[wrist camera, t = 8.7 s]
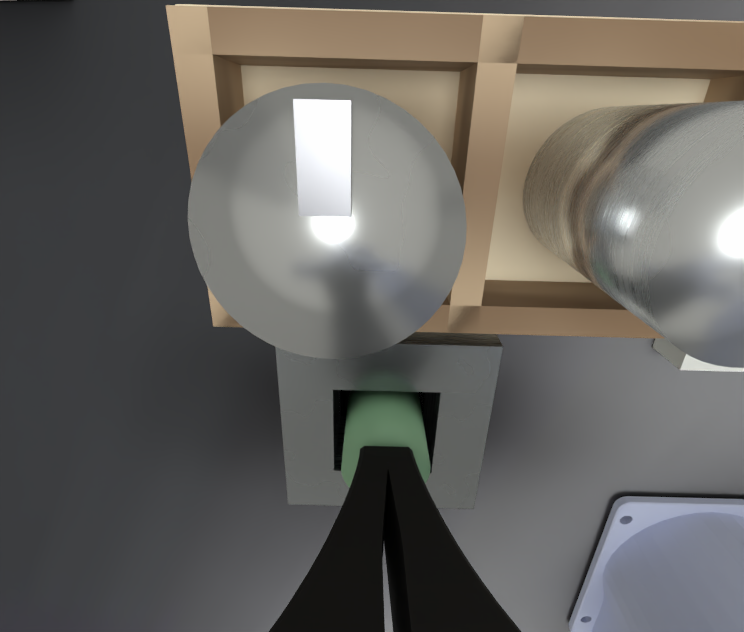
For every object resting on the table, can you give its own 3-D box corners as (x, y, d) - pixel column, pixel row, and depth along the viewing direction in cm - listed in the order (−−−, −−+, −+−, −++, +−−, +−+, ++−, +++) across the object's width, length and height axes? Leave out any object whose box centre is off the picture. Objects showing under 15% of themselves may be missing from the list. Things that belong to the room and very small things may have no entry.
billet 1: (418, 255, 12) (453, 371, 7) (281, 251, 12) (201, 365, 7) (429, 102, 11) (490, 84, 5) (271, 98, 11) (152, 75, 5)
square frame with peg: (459, 450, 17) (473, 508, 15) (300, 446, 17) (288, 504, 15) (480, 306, 14) (503, 346, 12) (292, 301, 14) (274, 340, 12)
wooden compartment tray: (655, 305, 14) (726, 353, 11) (230, 294, 14) (192, 339, 11) (748, 31, 11) (880, 2, 8) (194, 15, 11) (130, -22, 8)
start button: (417, 433, 15) (426, 503, 12) (347, 431, 15) (341, 500, 12) (422, 374, 14) (434, 435, 11) (347, 372, 14) (340, 433, 11)
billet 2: (642, 263, 12) (866, 387, 7) (508, 252, 12) (622, 368, 7) (697, 114, 11) (1060, 110, 5) (543, 99, 11) (736, 79, 5)
